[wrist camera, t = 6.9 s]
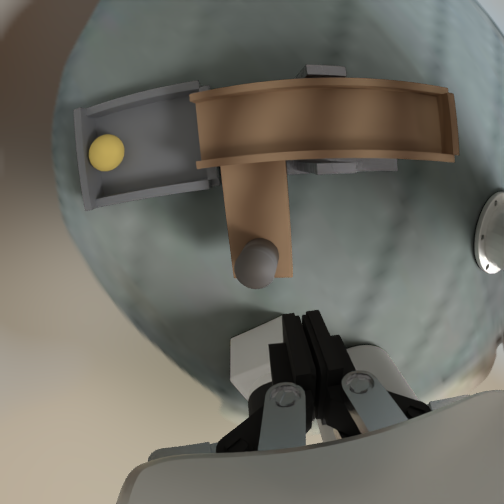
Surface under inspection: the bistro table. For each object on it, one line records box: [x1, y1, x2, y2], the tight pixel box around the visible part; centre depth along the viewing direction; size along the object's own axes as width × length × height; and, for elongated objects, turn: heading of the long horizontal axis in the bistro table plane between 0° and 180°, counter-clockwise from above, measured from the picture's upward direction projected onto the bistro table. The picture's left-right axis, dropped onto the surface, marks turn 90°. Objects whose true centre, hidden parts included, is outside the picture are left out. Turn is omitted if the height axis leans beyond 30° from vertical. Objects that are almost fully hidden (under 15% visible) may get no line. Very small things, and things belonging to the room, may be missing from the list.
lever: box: [189, 78, 459, 289], centre depth 19 cm, size 20×16×4 cm
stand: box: [286, 64, 398, 175], centre depth 21 cm, size 12×9×7 cm
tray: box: [74, 80, 220, 211], centre depth 22 cm, size 13×10×4 cm
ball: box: [89, 134, 124, 171], centre depth 22 cm, size 4×4×4 cm
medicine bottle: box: [230, 316, 315, 423], centre depth 26 cm, size 7×7×12 cm
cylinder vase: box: [317, 345, 419, 442], centre depth 23 cm, size 12×12×25 cm
